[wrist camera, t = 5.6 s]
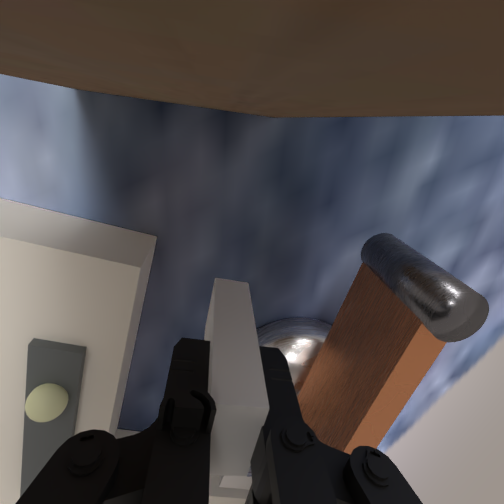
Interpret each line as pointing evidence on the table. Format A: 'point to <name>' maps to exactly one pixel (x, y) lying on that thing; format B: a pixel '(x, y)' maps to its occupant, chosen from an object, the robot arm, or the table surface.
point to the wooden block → (268, 53)
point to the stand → (67, 335)
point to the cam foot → (372, 345)
